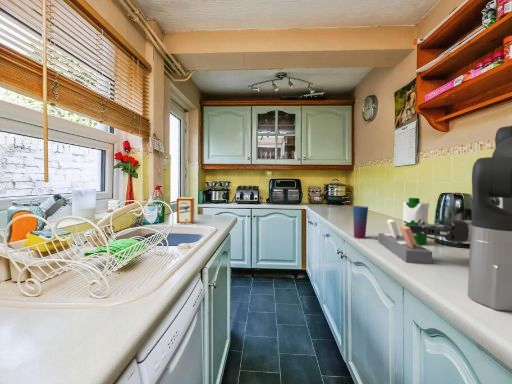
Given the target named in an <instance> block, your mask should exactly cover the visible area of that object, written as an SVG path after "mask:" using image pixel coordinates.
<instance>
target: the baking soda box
mask: <svg viewBox="0 0 512 384" xmlns="http://www.w3.org/2000/svg"><path fill="white" fill-rule="evenodd" d="M193 222H194V223H195V197H185V196H184V197H177V198H176V224H177V223H193ZM194 223H193V224H194Z"/></svg>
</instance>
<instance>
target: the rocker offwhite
mask: <svg viewBox="0 0 512 384" xmlns="http://www.w3.org/2000/svg"><path fill="white" fill-rule="evenodd" d="M386 224H387V226H388V229H389V232H390V234H391V235H392V237H394V238H396V239H397V238H400V235H401V234H400V231H399V229H398V226H397V225H398V224H396V220H393V219H387V220H386Z"/></svg>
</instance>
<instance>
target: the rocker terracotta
mask: <svg viewBox="0 0 512 384" xmlns="http://www.w3.org/2000/svg"><path fill="white" fill-rule="evenodd" d="M399 229H400V231H401V233H402V234H401V235H402V236H403V237H404V239H405V242H406V244H407V245H408V246H410V247H411V248H416V247H418V246H417V243H416V241H415V238H414V236H413V233H412V231H411V229H410V227H407V226H405V225H404V226H403V225H402V226H399Z"/></svg>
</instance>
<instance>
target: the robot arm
mask: <svg viewBox="0 0 512 384" xmlns="http://www.w3.org/2000/svg"><path fill="white" fill-rule="evenodd" d="M494 137H495V139H494V141H495V142H494V143H495V145H494V146H495V148H494V150H493V151H492V154H491V155H492V156H490V157H488V156H487V157H479V158H477V159H476V161H475V162H474V163H473V166H472V172H471V192H472V193H471V197H472V199H471V200H472V201H471V202H472V203H471V220H470V219H469V220H467V219H466V220H465V219H464V220H463V219H446V220H445V221H443V223H442V224H440V223H425V224H419V225H418V226H416V225H408V227H410V229H411V231H412V232H419V233H422V234H424V233H425V234H427V236H435V237H441V238H444V239H445V240H446V241H447V242H450V243H451V242H453V243H455V242H456V243H468V244H469V261H468V274H467V275H468V277H467V279H468V280H467V296H468V297H469V299H471V300H472V301H474V302H477V303H479V304H480V305H484V306H487V307H489V308H491V309H493V310H498V311H510V312H511V311H512V125H505V126H502V127H499V128H498V129H497V130H496V133H495V136H494ZM492 198H502V207H500V206H498V205H497V204H495V203H494V202H493V201H492Z"/></svg>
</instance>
